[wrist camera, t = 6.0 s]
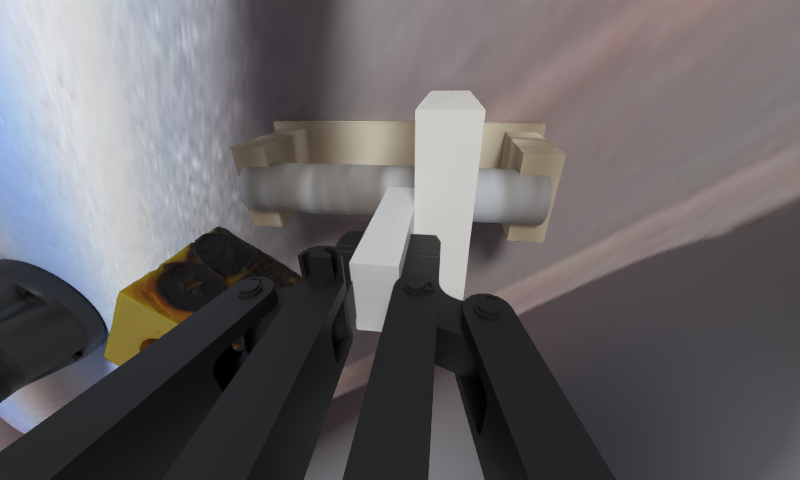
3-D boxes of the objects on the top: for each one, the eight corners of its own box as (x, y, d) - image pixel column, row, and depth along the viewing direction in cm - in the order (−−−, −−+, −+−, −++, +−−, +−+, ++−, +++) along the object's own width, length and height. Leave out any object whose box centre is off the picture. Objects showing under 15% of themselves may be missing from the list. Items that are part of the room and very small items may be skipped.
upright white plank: (426, 229, 24) (412, 319, 15) (431, 90, 19) (415, 109, 10) (456, 231, 24) (459, 323, 15) (469, 90, 19) (485, 110, 10)
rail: (292, 195, 25) (237, 240, 19) (277, 120, 22) (204, 142, 16) (526, 205, 23) (556, 261, 16) (543, 122, 20) (589, 149, 13)
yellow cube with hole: (311, 279, 30) (256, 364, 21) (273, 331, 35) (215, 417, 26) (218, 220, 28) (116, 288, 19) (191, 283, 33) (100, 360, 24)
